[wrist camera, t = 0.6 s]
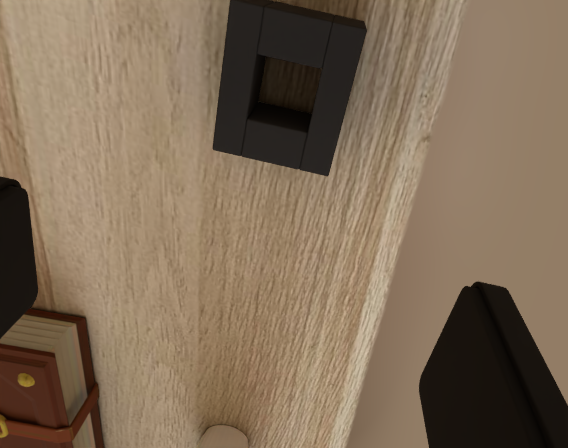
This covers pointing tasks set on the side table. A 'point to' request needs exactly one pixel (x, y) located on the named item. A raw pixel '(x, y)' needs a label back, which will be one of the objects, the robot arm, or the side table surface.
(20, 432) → the book
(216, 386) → the side table surface
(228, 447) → the white ribbed cylinder
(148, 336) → the side table surface
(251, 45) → the small black rectangular frame
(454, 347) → the robot arm
